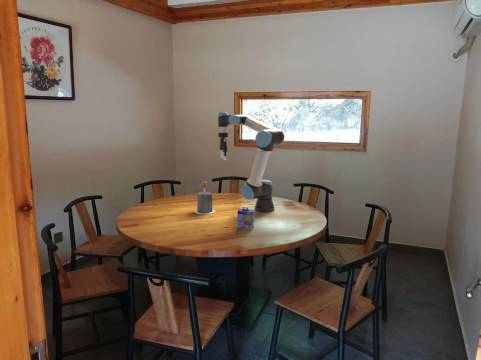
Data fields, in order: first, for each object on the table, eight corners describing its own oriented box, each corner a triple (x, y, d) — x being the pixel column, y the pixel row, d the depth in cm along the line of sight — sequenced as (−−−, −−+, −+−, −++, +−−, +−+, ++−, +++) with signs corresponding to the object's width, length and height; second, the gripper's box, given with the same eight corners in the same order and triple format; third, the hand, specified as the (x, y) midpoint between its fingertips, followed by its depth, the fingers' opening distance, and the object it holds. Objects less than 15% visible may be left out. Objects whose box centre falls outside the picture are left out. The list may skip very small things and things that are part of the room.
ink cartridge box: (237, 229, 237) (237, 207, 234) (238, 226, 242) (238, 205, 239) (252, 230, 235) (252, 208, 232) (253, 227, 240) (253, 206, 237)
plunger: (209, 205, 280) (209, 180, 276) (210, 207, 272) (210, 182, 269) (199, 205, 279) (198, 180, 275) (199, 208, 271) (199, 183, 267)
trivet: (214, 209, 285) (214, 208, 285) (216, 214, 270) (216, 213, 270) (193, 210, 283) (193, 209, 283) (194, 215, 267) (194, 214, 267)
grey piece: (211, 208, 285) (211, 190, 283) (212, 213, 271) (212, 194, 269) (196, 208, 283) (196, 190, 281) (197, 213, 270) (197, 194, 267)
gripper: (215, 131, 299) (216, 157, 303) (221, 133, 275) (221, 161, 279) (225, 131, 301) (225, 157, 304) (231, 133, 277) (231, 161, 281)
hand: (223, 159), depth 292 cm, fingers open, 13 cm apart
